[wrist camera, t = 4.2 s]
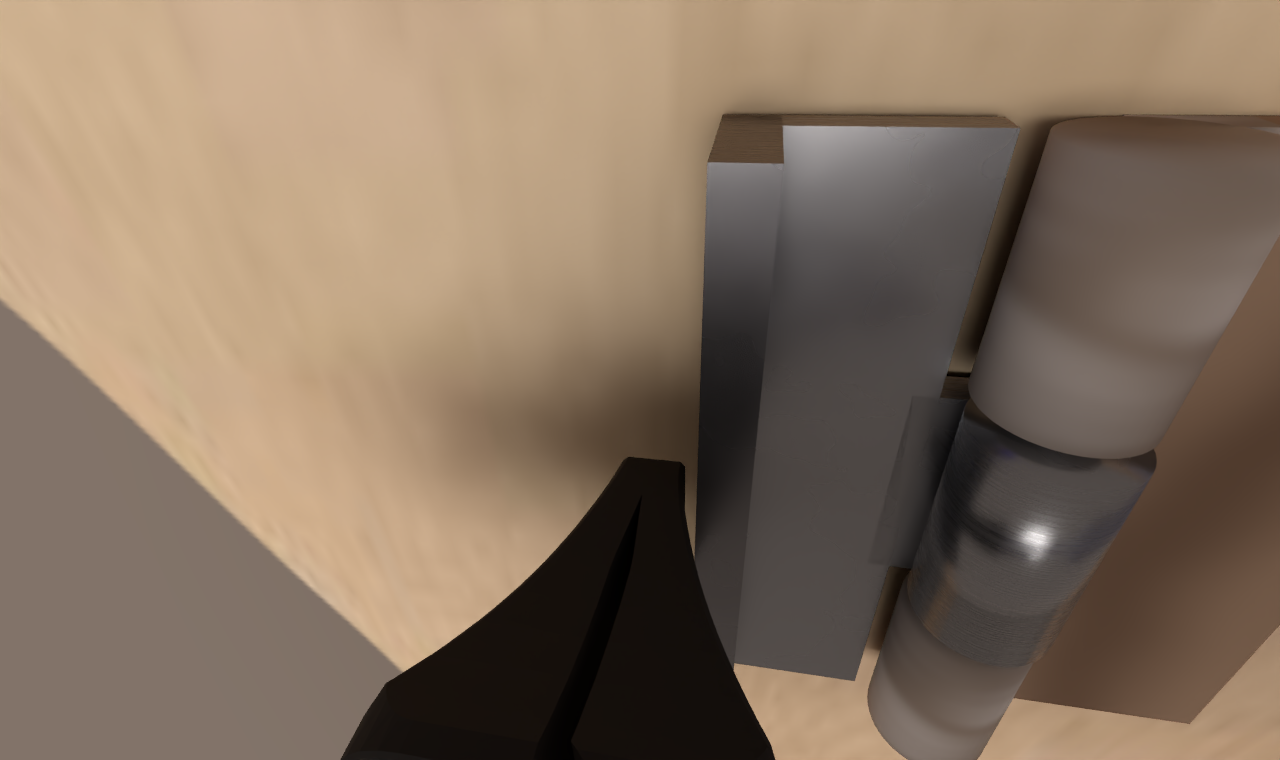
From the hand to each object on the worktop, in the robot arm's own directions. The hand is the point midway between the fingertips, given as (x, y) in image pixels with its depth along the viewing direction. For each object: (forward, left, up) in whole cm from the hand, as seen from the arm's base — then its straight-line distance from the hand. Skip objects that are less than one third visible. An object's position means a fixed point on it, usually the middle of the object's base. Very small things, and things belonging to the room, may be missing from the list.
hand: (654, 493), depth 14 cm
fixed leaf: (-10, 0, -2) cm, 10 cm away
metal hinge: (-5, 0, -2) cm, 5 cm away
